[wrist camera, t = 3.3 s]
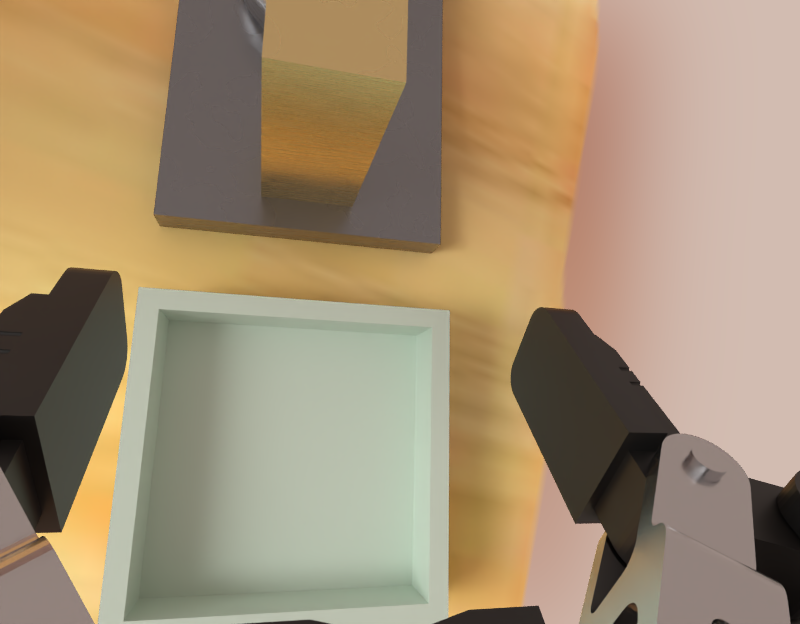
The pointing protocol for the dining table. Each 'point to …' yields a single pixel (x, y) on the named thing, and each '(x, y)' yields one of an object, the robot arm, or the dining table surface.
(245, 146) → the crank base
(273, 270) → the dining table surface
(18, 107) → the dining table surface
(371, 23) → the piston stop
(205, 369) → the tray
